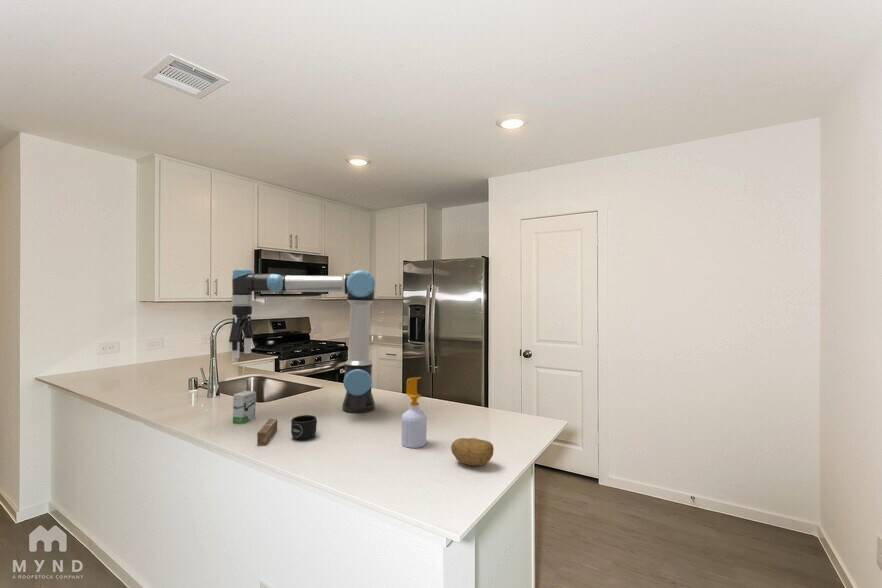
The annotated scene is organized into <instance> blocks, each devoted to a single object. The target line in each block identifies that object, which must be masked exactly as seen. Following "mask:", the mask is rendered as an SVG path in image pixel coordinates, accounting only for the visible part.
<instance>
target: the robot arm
mask: <svg viewBox="0 0 882 588" xmlns="http://www.w3.org/2000/svg"><path fill="white" fill-rule="evenodd" d="M231 280H232V281H231V282H232V284H231V285H232V286H231V287H232V292H231V293H232V297H231V298H230V299H231V300H232V301H231V302H232V303H231V304H232V307H231V314H232V315H234V316H235V317H232V324H231V329H230V335H229V339H228V342H229V343H231V359H232V360H233V359H240V338H241V334H242V332H243V336H244V337H245V338H244V339H243V347H244V348H243V354H252V339H254V337H255V336H254V332H253V326H252V317H251V315H252V314H253V307H252V305H253V292H269V293H271V292H272V293H280V292H281V293H282V292H283V293H287V292H289V293H290V292H294V293H296V292H297V293H305V292H306V293H312V292H313V293H318V292H319V293H327V292H328V293H343V294H344V295H347V296H346V299H347V300H346V301H347V302H348V303H349V305H350V306H349V307H350V311H349V313H350V314H349V337H348V338H349V343H348V346H349V347H348V359H347V360H346V361H345V363H344V377H343V387H344V389H345V390H346V392H345V395H344V399H343V402H342V406H341V407H342V411H343V412H346V413H350V414H351V413H352V414H361V413H367V412H371V411H373V410H375V409H376V403H375V400H374V399H375V398H374V396H373V392H372V384H373V380H372V377H373V375H372V373H373V372H372V370H373V369H372V368H373V362H372V361H371V360H370V359H369V358H370V356H369V355H370V354H369V353H370V332H371V331H370V329H371V328H370V327H371V326H370V325H371V324H370V323H371V305H372V304H373V303H374V302H375V287H376V280H375V278H374V275H372V273H370V272H369V271H367V270H365V269H357V270H355V271H353V272H351V273H344V274H343V275H300V274H299V275H295V274H294V275H293V274H292V275H287V274H286V275H284V274H282V275H281V274H277V273H253V270H252V269H250V268H235V269H233V270H232V278H231Z"/></svg>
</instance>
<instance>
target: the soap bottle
mask: <svg viewBox="0 0 882 588" xmlns="http://www.w3.org/2000/svg"><path fill="white" fill-rule="evenodd" d="M420 379H422V377H421V376H417V377H416V376H415V377H409V378H407V380H406V396H408V397H410V400H411V402H409V409H408V410H406V411H405V412H403V414H402V415H401V445H402V446H403V447H406V448H409V449H416V448H417V449H418V448H422V447H425V446H426V444H427V432H428V431H427V429H428V428H427V414H426V413H425V412H424V411H422V410H421V409H420V402H418V399H419V398H422V395H421V394H419V392H418V380H420Z"/></svg>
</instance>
